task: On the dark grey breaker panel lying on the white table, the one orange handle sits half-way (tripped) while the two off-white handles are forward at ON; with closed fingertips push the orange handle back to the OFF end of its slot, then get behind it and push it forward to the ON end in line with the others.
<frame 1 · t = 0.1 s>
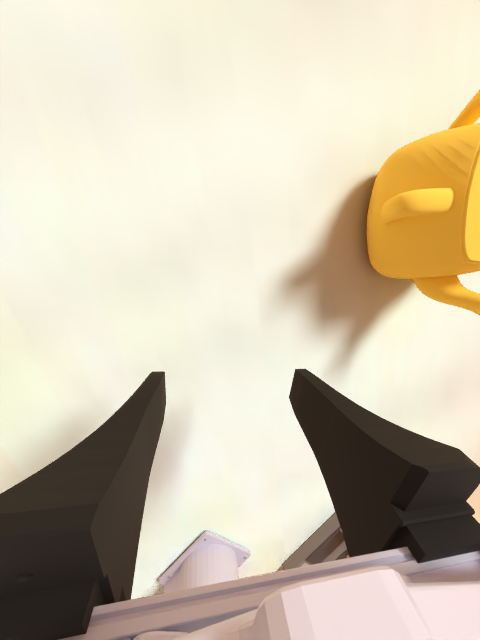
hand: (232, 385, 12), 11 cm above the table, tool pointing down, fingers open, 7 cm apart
panel: (347, 539, 33), on the table
tripped breaker: (364, 570, 30), point 4 cm above the table, slide at 0.0 cm
teapot: (399, 228, 23), on the table
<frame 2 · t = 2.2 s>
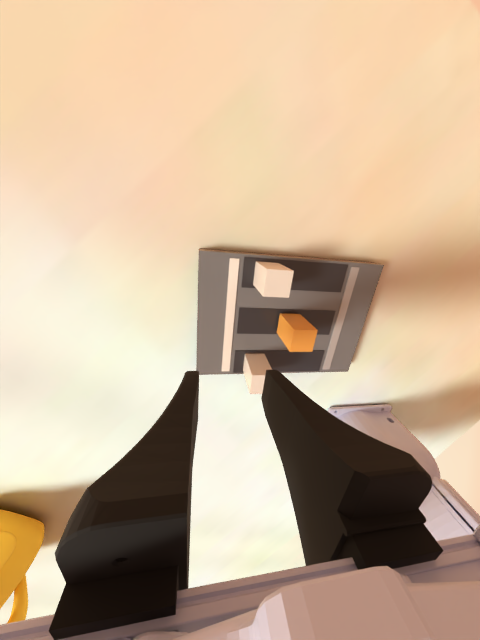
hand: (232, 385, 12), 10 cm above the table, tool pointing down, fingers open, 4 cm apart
panel: (282, 316, 23), on the table
tripped breaker: (295, 331, 20), point 4 cm above the table, slide at 0.0 cm
teapot: (2, 521, 28), on the table
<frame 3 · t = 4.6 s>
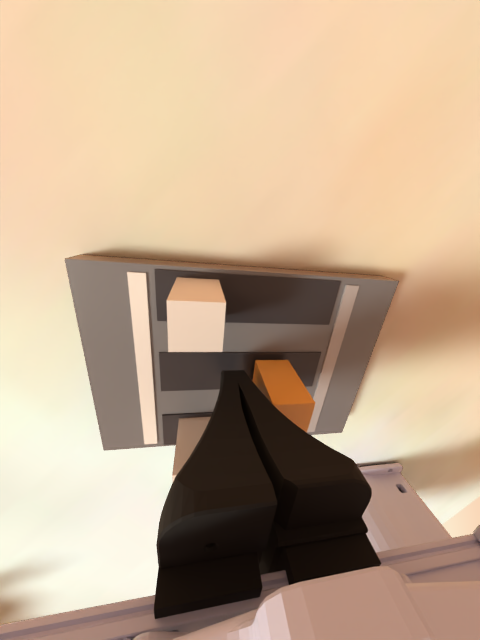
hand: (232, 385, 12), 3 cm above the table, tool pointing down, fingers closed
panel: (239, 357, 15), on the table
tripped breaker: (278, 394, 12), point 4 cm above the table, slide at -1.6 cm, touching gripper
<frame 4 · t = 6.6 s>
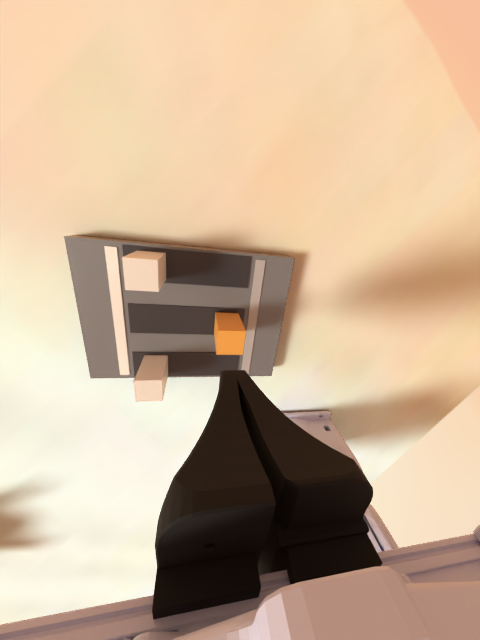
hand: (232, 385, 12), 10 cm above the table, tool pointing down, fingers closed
panel: (189, 314, 20), on the table
tripped breaker: (228, 332, 18), point 4 cm above the table, slide at -3.2 cm
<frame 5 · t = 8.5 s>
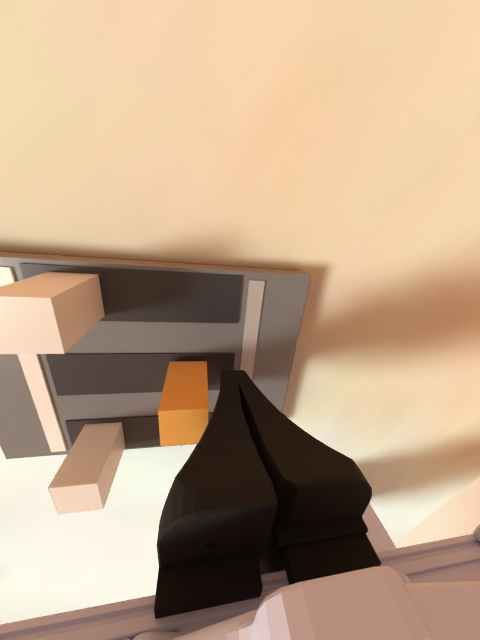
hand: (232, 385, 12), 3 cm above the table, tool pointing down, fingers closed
panel: (154, 359, 14), on the table
tripped breaker: (186, 398, 11), point 4 cm above the table, slide at -2.2 cm, touching gripper
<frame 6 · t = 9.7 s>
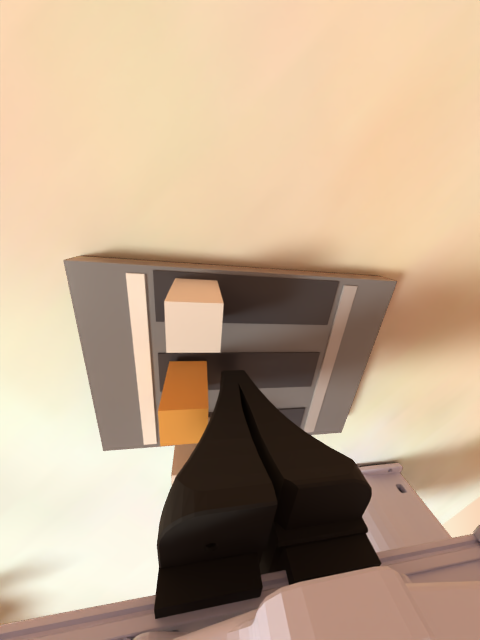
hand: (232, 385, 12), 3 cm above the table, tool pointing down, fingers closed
panel: (238, 358, 15), on the table
tripped breaker: (186, 398, 11), point 4 cm above the table, slide at 3.2 cm, touching gripper
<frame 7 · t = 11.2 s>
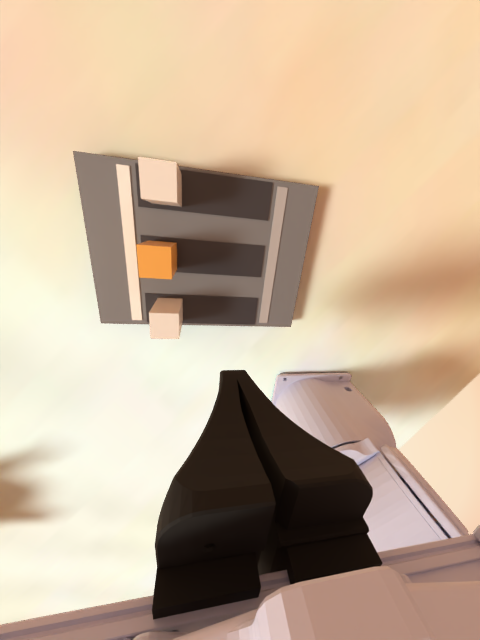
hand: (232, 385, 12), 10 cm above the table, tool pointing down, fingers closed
panel: (205, 255, 19), on the table
tripped breaker: (159, 258, 15), point 4 cm above the table, slide at 3.2 cm
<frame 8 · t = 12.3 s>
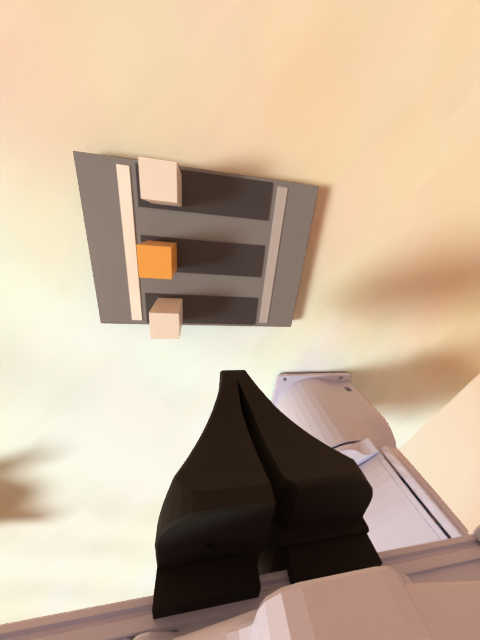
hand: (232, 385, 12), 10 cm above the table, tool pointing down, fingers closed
panel: (205, 255, 19), on the table
tripped breaker: (159, 258, 15), point 4 cm above the table, slide at 3.2 cm
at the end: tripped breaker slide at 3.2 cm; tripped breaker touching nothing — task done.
